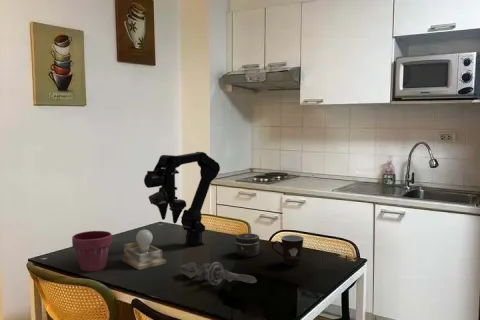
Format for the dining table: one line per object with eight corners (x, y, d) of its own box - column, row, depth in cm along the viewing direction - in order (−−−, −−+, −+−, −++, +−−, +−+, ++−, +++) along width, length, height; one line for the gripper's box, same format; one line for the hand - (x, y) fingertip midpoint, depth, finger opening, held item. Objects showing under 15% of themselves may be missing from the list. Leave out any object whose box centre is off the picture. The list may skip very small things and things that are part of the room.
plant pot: (101, 259, 185) (100, 228, 183) (119, 267, 175) (118, 234, 173) (67, 267, 175) (65, 235, 173) (83, 277, 165) (82, 242, 163)
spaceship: (246, 277, 141) (259, 262, 146) (169, 266, 163) (184, 252, 169) (254, 298, 143) (267, 282, 149) (178, 284, 166) (191, 270, 171)
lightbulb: (137, 255, 183) (136, 228, 183) (153, 254, 184) (153, 227, 183) (135, 259, 177) (134, 231, 176) (152, 259, 178) (151, 231, 177)
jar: (231, 256, 188) (231, 237, 188) (240, 249, 197) (240, 232, 197) (254, 258, 185) (254, 240, 184) (262, 251, 194) (262, 234, 193)
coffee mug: (306, 261, 181) (306, 236, 180) (299, 267, 173) (299, 242, 172) (278, 257, 186) (278, 233, 185) (270, 263, 178) (270, 238, 177)
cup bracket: (149, 254, 190) (148, 239, 190) (166, 263, 180) (166, 246, 179) (122, 260, 183) (121, 244, 182) (138, 269, 172) (138, 252, 171)
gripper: (140, 184, 194) (141, 220, 196) (162, 189, 180) (163, 228, 181) (163, 181, 201) (164, 216, 203) (186, 186, 187) (187, 224, 188)
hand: (169, 221), depth 193 cm, fingers open, 9 cm apart
